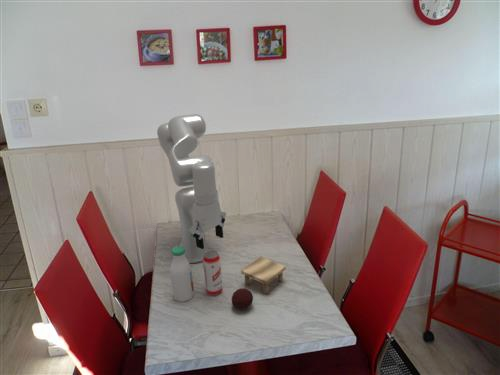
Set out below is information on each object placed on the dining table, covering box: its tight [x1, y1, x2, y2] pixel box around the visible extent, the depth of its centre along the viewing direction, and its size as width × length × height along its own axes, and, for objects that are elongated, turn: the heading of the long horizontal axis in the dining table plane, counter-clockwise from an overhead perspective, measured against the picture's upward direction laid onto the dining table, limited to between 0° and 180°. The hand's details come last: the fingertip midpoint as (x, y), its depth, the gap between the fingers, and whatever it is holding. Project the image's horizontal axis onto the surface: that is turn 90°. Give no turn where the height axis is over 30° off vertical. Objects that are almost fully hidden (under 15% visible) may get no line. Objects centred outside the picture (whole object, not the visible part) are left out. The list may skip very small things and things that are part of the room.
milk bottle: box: [169, 245, 195, 303], centre depth 149 cm, size 8×8×20 cm
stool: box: [240, 256, 286, 295], centre depth 156 cm, size 12×12×6 cm
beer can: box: [202, 250, 223, 296], centre depth 151 cm, size 6×6×16 cm
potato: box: [231, 287, 254, 310], centre depth 144 cm, size 7×8×7 cm
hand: (210, 242), depth 146 cm, fingers open, 9 cm apart
